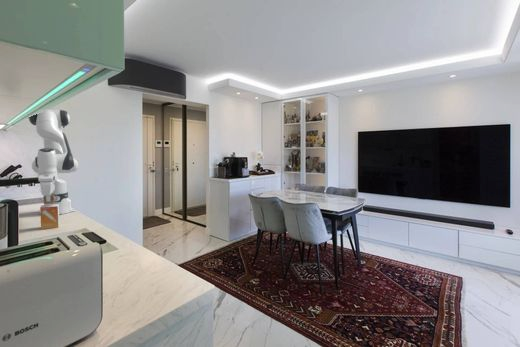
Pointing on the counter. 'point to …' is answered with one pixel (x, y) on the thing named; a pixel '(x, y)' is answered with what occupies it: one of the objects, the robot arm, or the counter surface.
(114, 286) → the counter surface
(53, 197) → the walnut cube
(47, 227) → the small box
